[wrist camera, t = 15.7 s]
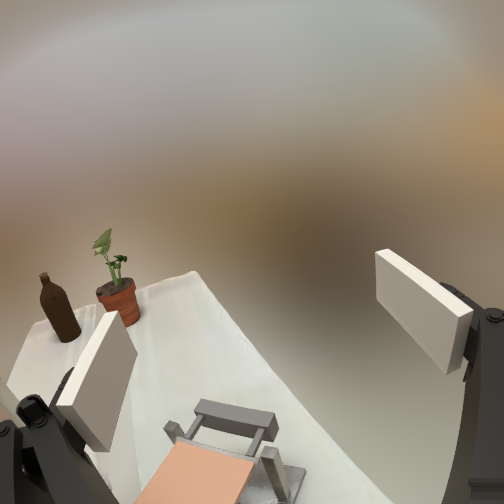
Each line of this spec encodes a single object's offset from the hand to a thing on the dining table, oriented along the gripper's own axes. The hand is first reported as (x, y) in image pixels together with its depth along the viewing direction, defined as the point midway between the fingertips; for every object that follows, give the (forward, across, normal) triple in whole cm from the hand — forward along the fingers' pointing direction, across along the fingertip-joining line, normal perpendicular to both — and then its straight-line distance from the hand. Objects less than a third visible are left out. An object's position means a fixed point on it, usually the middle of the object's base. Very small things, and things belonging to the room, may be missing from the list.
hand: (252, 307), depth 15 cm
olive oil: (+73, -68, -40) cm, 107 cm away
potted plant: (+79, -44, -40) cm, 99 cm away
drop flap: (+8, -10, -28) cm, 31 cm away
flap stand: (+12, -8, -40) cm, 43 cm away
